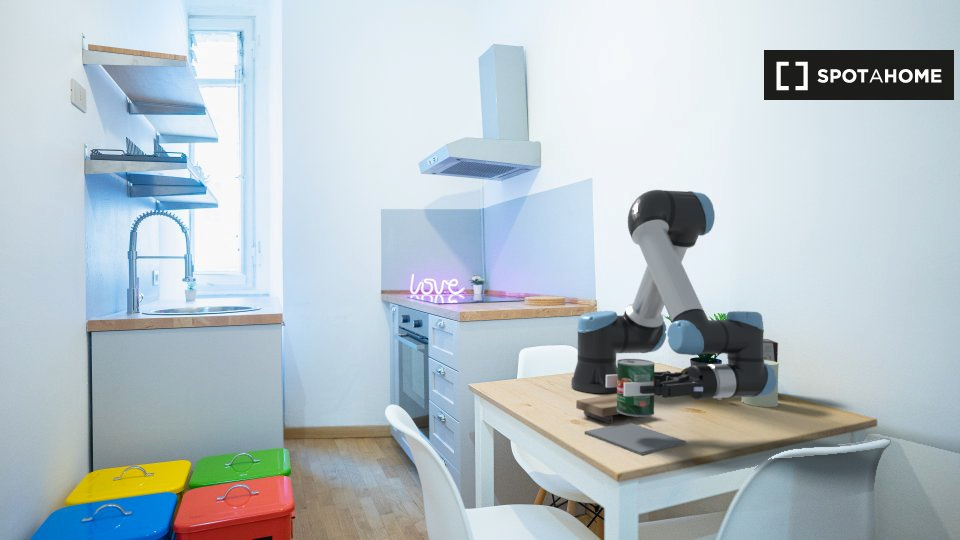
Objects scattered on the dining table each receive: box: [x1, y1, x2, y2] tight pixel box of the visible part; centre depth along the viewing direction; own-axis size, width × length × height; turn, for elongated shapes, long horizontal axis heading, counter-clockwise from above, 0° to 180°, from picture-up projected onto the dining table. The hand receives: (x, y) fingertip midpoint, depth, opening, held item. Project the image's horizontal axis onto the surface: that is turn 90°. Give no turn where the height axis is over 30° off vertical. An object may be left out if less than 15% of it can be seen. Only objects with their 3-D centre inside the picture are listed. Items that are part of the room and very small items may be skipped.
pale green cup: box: [740, 360, 779, 408], centre depth 154 cm, size 9×9×12 cm
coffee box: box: [763, 338, 779, 363], centre depth 165 cm, size 9×6×16 cm
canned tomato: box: [616, 358, 656, 418], centre depth 120 cm, size 8×8×11 cm
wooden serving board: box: [575, 393, 620, 424], centre depth 138 cm, size 9×16×4 cm, turn 123°
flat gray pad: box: [584, 422, 687, 456], centre depth 121 cm, size 16×14×1 cm
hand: (615, 385), depth 119 cm, fingers closed on canned tomato, 8 cm apart
